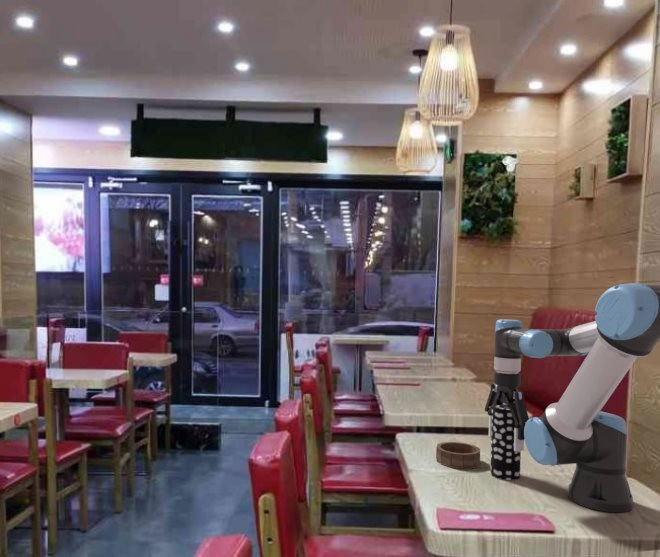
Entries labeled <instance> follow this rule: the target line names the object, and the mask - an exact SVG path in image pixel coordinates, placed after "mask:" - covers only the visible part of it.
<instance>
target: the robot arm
mask: <svg viewBox="0 0 660 557" xmlns="http://www.w3.org/2000/svg"><path fill="white" fill-rule="evenodd" d="M594 312H596V315H594V319H595V320H594V321H591V322H590V321H589V322H586V323H584V324H579V325H576V326H572V327H569V328H565V329H548V328H546V329H545V328H544V329H543V328H540V329H539V328H538V329H537V328H536V329H534V328H524V327H523V323H522V321H521V320H519V319H510V318H509V319H508V318H507V319H505V318H501V319H497V320H496V321H495V330H494V358H493V360H494V361H493V362H494V364H493V369H494V370H495V371H494V372H493V383H491V384H490V391H489V394H488V397H487V399H486V400H487V401H486V404H485V407H484V411H485V412H484V413H486V412H487V415H488V437H489V438H490V439H491V427H492V405H496V404H505V405H507V406H508V407H509V408H510V410H511V413H512V416H513V419H514V421H515V424H516V426H515V427H514V451H521V452H524V451H525V446H526V448H527V451H528V453H529V455H530V456H531V458H532V459H533V460H534V461H535V462H536V463H537V464H540V465H542V466H553V467H554V466H560V465H561V466H562V465H571V464H572V465H574V464H575V469H574V472H573V475H572V477H571V482H570V483H569V485H568V490H567V491H568V493H567V494H568V498H569V499H570V500H571V501H572V502H574V503H576V504H577V505H580V506H582V507H585V508H588V509H591V510H595V511H599V512H600V511H602V512H607V513H608V512H609V513H625V512H629V511H632V510H633V508H634V498H633V497H634V496H633V494H632V492H631V488H630V484H629V482H628V478H627V476H626V475H627V474H626V472H627V470H626V469H627V468H626V463H627V438H628V437H627V436H628V433H627V424H626V420H625V418H623V417H621V416H619V415H617V414H613V413H609V412H605V411H602V409H603V407H604V406H605V405H606V403H607V402H608V401H609V399H610V398H611V396H612V395H613V394H614V392H615V390H616V389H617V387H618V386H619V384H620V383H621V382H622V380H623V379H624V378H625V376H626V375H627V373H628V371H629V370H630V369H631V367H632V366H633V365H634V363H635V361H636V360H637V358H645V357H647V356H649V355H650V353H651V352H652V351H653V350H654V348H655V347H656V345H658V343H659V342H660V284H644V283H639V282H632V283H631V282H630V283H623V284H617V285H613V286H612V287H610V288H608V289H606V290H605V291H604V292H603V293H602V294H601V295H600V297H599V298H598V300H597V303H596V305H595V308H594ZM522 356H526V357H528V358H533V359H534V358H535V359H536V358H537V359H543V358H546V357H581V356H586V357H585V358H584V360H583V361H582V363H581V365H580V366H579V368H578V370H577V372H576V373H575V374H574V376H573V378H572V379H571V381H570V383H569V384H568V385H567V387H566V389H565V391H564V392H563V394H562V395H561V397H560V399H559V400H558V401H557V402H554V403H550V404H549V405H548V406H547V407H546V408H545V410H544V412H543V414H542V415H541V416H540V417H537V416H536V417H535V416H533V417H532V418H529V415H528V410H527V409H528V408H527V405H526V401H525V392H523V391H518V387H520V386H521V376H522V374H521V373H520V372H521V370H522V366H521V365H522ZM519 423H520V424H519Z"/></svg>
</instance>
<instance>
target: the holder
mask: <svg viewBox="0 0 660 557" xmlns="http://www.w3.org/2000/svg"><path fill="white" fill-rule="evenodd" d="M435 451H436V454H435V458H436V462H437V463H439V464H440V465H442V466H444V467H448V468H453V469H462V470H463V469H465V470H467V469H468V468H470V469H474V468H475V467H476V468H478V467H479V466H480V465H481V447H478V446H476V445H474V444H470V443H467V442H461V441H460V442H459V441H457V442H456V441H445V442H440V443H437V444H436V450H435Z"/></svg>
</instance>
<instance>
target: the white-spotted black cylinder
mask: <svg viewBox="0 0 660 557" xmlns="http://www.w3.org/2000/svg"><path fill="white" fill-rule="evenodd" d="M519 424H520V423H519ZM515 426H516V424H515V421H514V419H513V416H512V413H511V410H510V408H509V407H508V406H507V404H505V403H503V404H496V405H492V427H491V438H490V440H491V441H490V475H491V476H492V477H493V478H495V479H498V478H499V480H504V481H517V480H520V478H521V458H522V457H521V456H522V455H521V452H522V451H514V427H515Z"/></svg>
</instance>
